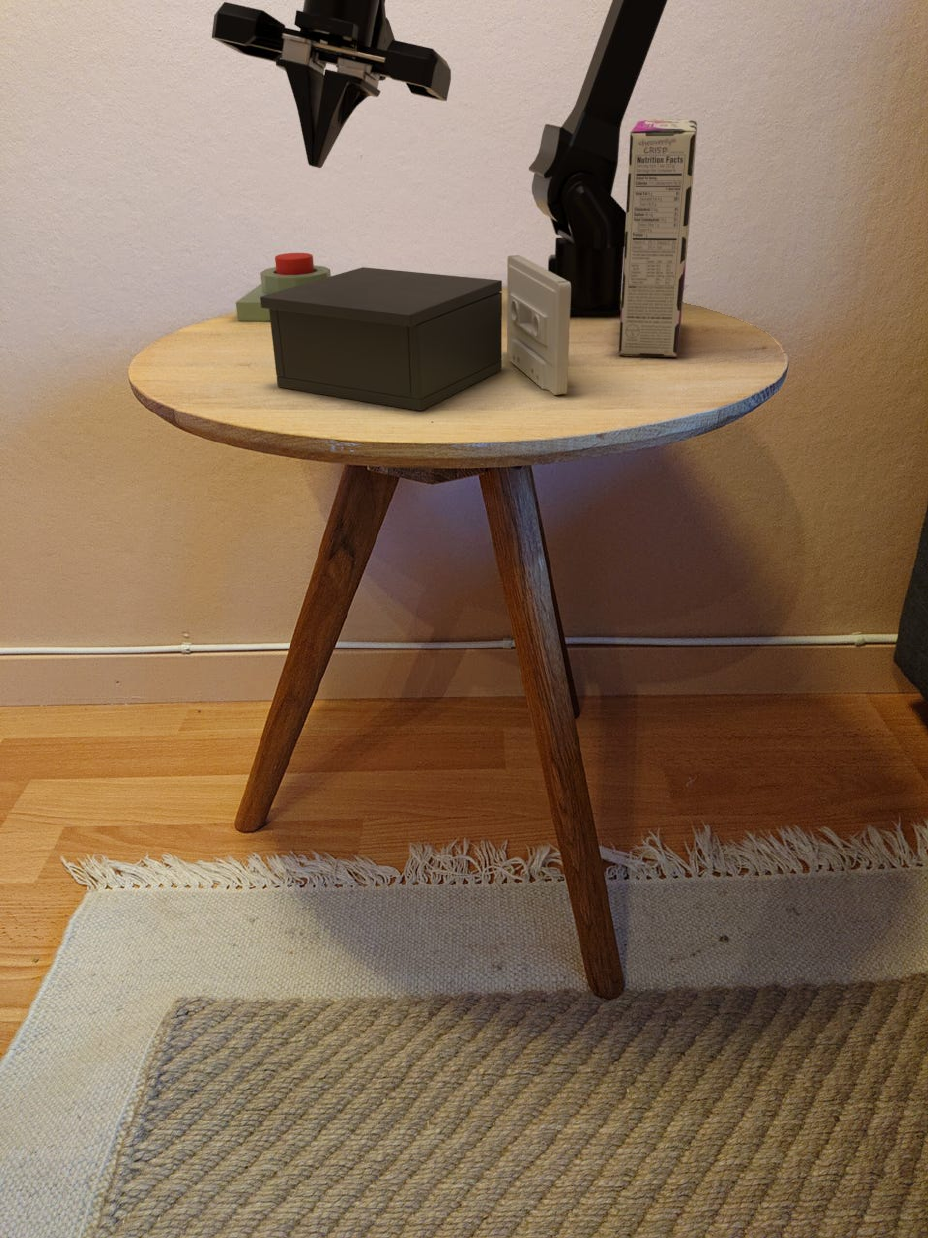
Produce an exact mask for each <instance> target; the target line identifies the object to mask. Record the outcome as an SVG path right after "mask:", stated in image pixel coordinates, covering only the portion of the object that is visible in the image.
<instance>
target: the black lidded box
mask: <svg viewBox="0 0 928 1238" xmlns="http://www.w3.org/2000/svg"><path fill="white" fill-rule="evenodd" d="M269 314H270V321H269V323H270V331H271V339H272V348H273V355H274V356H273V358H274V365H275V366H274V367H275V374H276V383H277V385H276V386H277V387H278V388H283V389H288V390H294V391H300V392H306V393H311V394H316V395H317V394H318V395H323V396H324V395H325V396H330V397H336V398H340V399H347V400H353V401H360V402H365V403H370V404H377V405H383V406H387V407H388V406H389V407H395V408H400V409H406V410H413V411H419V412H423V411H424V410H427V409H428V408H430V407H433V406H434V405H436V404H438V403H440V402H442V401H444V400H446V399H447V398H450V397H452V396H453V395H455V394H457V393H459V392H461V391H463V390H465V389H467V388H469V387H471V386H474V385H475V384H477V383H479V382H481V381H483V380H485V379H487V378H489V377H490V376H493V375H495V374H496V373H498V372H500V371H502V351H503V350H502V348H503V347H502V344H503V343H502V341H503V339H502V338H503V337H502V335H503V331H502V330H503V329H502V328H503V326H502V325H503V315H502V314H503V293H502V291H501V292H498V293H496V294H493V295H491V296H488V297H486V298H483V299H480V300H478V301H475V302H473V303H470V304H468V305H465V306H463V307H460V308H457V309H455V310H452V311H450V312H447V313H445V314H442V315H440V316H437V317H434V318H432V319H429V320H427V321H424V322H422V323H419V324H417V325H414V326H411V327H409V326H401V325H393V324H385V323H377V322H369V321H361V320H353V319H345V318H337V317H329V316H321V315H313V314H305V313H297V312H289V311H281V310H273V309H269Z"/></svg>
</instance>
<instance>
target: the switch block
mask: <svg viewBox="0 0 928 1238" xmlns="http://www.w3.org/2000/svg"><path fill="white" fill-rule="evenodd" d="M259 275H260V276H259V277H260V284H259V285H257V286H256V287H254V288H253V289H252V290H251V291H249V292H248V293H246V294H245V295H243V296H242V297H241V298H239V299H238V300H236V301H235V308H236V315H237V321H239V322H241V321H246V322H251V321H252V322H254V321H255V322H260V321H261V322H270V314H269V309H265V308H261V302H260V297H261V296H264V295H268V294H271V293H275V292H278V291H282V290H285V289H289V288H292V287H296V286H299V285H303V284H306V283H310V282H313V281H317V280H320V279H324V278H327V277H331V276H332V273H331V269H330V268H329V267H327V266H323V265H315V264H314V272H313V273H309V274H301V275H281V274H277V273H276V266H273V267H268V268H265V269H264V270H262V271H261V272H260V273H259Z"/></svg>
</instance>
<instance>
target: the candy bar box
mask: <svg viewBox="0 0 928 1238" xmlns="http://www.w3.org/2000/svg"><path fill="white" fill-rule="evenodd" d="M629 134H630V135H629V154H628V155H629V156H628V171H627V172H628V174H627V188H626V204H625V205H626V206H625V207H626V208H625V212H626V227H625V245H624V256H623V272H622V288H621V315H620V318H619V320H620V322H619V336H618V337H619V339H618V355H620V356H625V357H639V358H640V357H644V358H676V357H677V356H678V351H679V342H680V334H681V325H682V313H683V301H684V291H685V282H686V281H685V280H686V270H687V258H688V245H689V234H690V233H689V232H690V224H691V223H690V222H691V212H692V211H691V210H692V200H693V188H694V178H695V177H694V176H695V163H696V151H697V150H696V149H697V135H698V123H697V120H695V119H685V118H683V119H682V118H679V119H678V118H677V119H676V118H675V119H673V118H672V119H671V118H669V119H668V118H667V119H645V120H640V121H639V120H638V121H637V122H636V124H635V125H634V127H633V128H632V130H630V133H629Z"/></svg>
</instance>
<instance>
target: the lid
mask: <svg viewBox="0 0 928 1238" xmlns="http://www.w3.org/2000/svg"><path fill="white" fill-rule="evenodd" d="M498 292H501V293H502V292H503V281H502V280H501V279H490V278H479V277H470V276H458V275H448V274H439V273H427V272H418V271H417V272H416V271H409V270H408V271H407V270H406V271H405V270H396V269H386V268H377V267H376V268H374V267H366V266H365V267H364V266H362V267H359V268H355V269H351V270H348V271H345V272H341V273H338V274H335V275H331V277H327V278H324V279H320V280H317V281H313V282H310V283H306V284H303V285H299V286H296V287H292V288H289V289H285V290H282V291H278V292H275V293H271V294H268V295H264V296H261V297H260V302H261V308H265V309H273V310H281V311H289V312H297V313H305V314H313V315H321V316H329V317H337V318H345V319H353V320H361V321H369V322H377V323H385V324H393V325H401V326H409V327H411V326H414V325H417V324H419V323H422V322H424V321H427V320H429V319H432V318H434V317H437V316H440V315H442V314H445V313H447V312H450V311H452V310H455V309H457V308H460V307H463V306H465V305H468V304H470V303H473V302H475V301H478V300H480V299H483V298H486V297H488V296H491V295H493V294H496V293H498Z"/></svg>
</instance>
